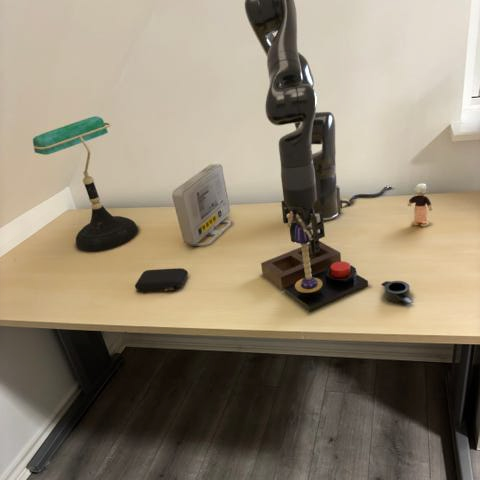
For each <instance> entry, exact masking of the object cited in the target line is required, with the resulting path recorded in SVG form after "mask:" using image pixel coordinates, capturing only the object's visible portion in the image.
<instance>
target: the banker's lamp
mask: <svg viewBox="0 0 480 480" xmlns="http://www.w3.org/2000/svg"><path fill="white" fill-rule="evenodd" d="M111 126H112V124H111V123H110V122H104V119H103V118H102V117H100V116H98V115H95V116H91V117H87V118H84V119H81V120H78V121H76V122H72V123H70V124H67V125H64V126H61V127H57V128H55V129H52V130H49V131H46V132H43V133H40V134H38V135H36V136H34V137H33V138H32V144H33V150H34V154H35V153H36V154H39V155H43V156H47V155H52V154H55V153H57V152H60V151H63V150H66V149H68V148H71V147H74V146H76V145H80V144H83V146H84V147H85V148H86V151H87V158H86V163H85V167H84V171H83V175H84V176H83V179H82V183H83V185H84V187H85V190H86V193H87V196H88V200H89V202H90V203H91V217H90V222H89V223H87V224H86V225H84V226H83V227H82V228H81V229H80V230H79V231H78V233H77V234H76V237H75V245H76V247H77V249H78V250H80V251H83V252H89V253H91V252H92V253H94V252H103V251H108V250H112V249H114V248H117V247H120V246H122V245H124V244H126V243H128V242H130V241H131V240H132V239H133V238H134V237H135V236H137V234H138V232H139V228H138V225H137V223H136V222H135V221H134V220H133V219H131V218H129V217H126V216H121V215H112V214H111V213H110V212H109V211H108V210H107V209H106V208H105V207H104V205H103V203H102V202H100V200H101V199H100V196H99V193H98V190H97V188H96V184H95V181H94V178H93V177H92V176H90V175H89V172H88V169H89V164H90V159H91V150H90V148H89V146H88V145H87V143H86V142H88V141H90V140H93V139H95V138H98V137H101V136H104V135H106V134H108V131H109V130H108V128H110V127H111Z"/></svg>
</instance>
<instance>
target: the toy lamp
mask: <svg viewBox="0 0 480 480" xmlns="http://www.w3.org/2000/svg"><path fill="white" fill-rule="evenodd" d="M309 226H310V224H309V225H307V227H309ZM310 231H311V233H312V234H313V232H312V230H310ZM294 241H295V242H294V243H296V244H298V245H299V244H300V247H301V250H302V256H303V262H304V268H305V269H304V271H305V277H306V278H304V279H303V280H302V282H301V287H302V288H304V289H312V288H314V287H316V286H317V285H318V282H317V280H316V279H315V278H313V277H312V274H311V268H310V267H311V264H310V258H309V252H308V246H307V245H308V244H309V237H308V235H307V233H306V232H304V231H303V228H302V226H301V225H300V224H297V225H296V228H295V236H294Z"/></svg>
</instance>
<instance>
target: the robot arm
mask: <svg viewBox="0 0 480 480" xmlns="http://www.w3.org/2000/svg"><path fill="white" fill-rule="evenodd" d="M295 3H296V2H295V0H244V12H245V16H246V18H247V21H248V24H249V26H250V28H251V29H252V32H253V34H254V36H255V37H256V40H257V41H258V43H259V45H260V46H261V47H260V48H261V49H262V50H263V53H264V54H265V56H266V67H267V68H266V69H267V74H268V80H269V82H268V83H269V86H268V89H267V94H266V98H265V103H264V108H265V116H266V118H267V120H268V121H269V122H270V123H271V124H272V125H274V126H278V127H279V126H285V125H291V124H294V127H295V129H294V131H291V132H288V133H287V134H285V135H283V136H281V137H280V138H279V139H278V154H279V161H280V179H281V180H280V181H281V187H282V198H283V200H281V214H282V222H283V224H286V226H287V228H288V229H289V236H290V242H292V243H296V242H295V241H294V236H295V228H296V225H297V224H300V225H301V226H302V228H303V231H304V232H306V233H307V235H308V237H309V243H308V244H310V253H312V254H315V253H317V252H319V250H320V246H319V241H320V240H321V239H323V238H325V237H326V232H325V223H324V222H327V221H331V220H334V219H336V218H337V217H338V216H339V215H341V213H342V211H341V210H342V209H343V204H346V205H348V206H350V205H352V204H353V203H354V199H357V198H361V197H362V198H363V197H364V198H374V197H379V196H380V195H382V194H383V193H384V192H385V191H386V190H387V189H389V190H392V189H393V187H392V186H391V187H389V188H387V187H385V186H384V187H383V188H382V190H380V191H379V192H377V193H357V194H356V195H353V196H352V197H351V198H350V201H348V200H345V199H344V200H343V199H341V192H340V191H341V189H340V186H339V185H338V184H337V183H338V182H337V167H336V155H337V154H336V153H337V151H336V149H337V148H336V119H335V116H334V114H333V113H332V112H331V111H318V112H317V104H318V98H317V93H316V91H315V89H314V86H315V79H314V75H313V73H312V70H311V67H310V64H309V62H308V60H307V59H306V57H305V56H304V55H303V54H301V53H300V52H299V51H298V16H297V7H296V4H295ZM274 33H276V34H274ZM312 145H313V146H314V145H317V146H318V145H321V149H320V150H319V151H316V152H314V153H313V148H312V147H313V146H312ZM288 215H289V216H288ZM307 225H309V227H307ZM310 230H311V231H312V233H311V231H310Z"/></svg>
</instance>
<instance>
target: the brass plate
mask: <svg viewBox="0 0 480 480" xmlns="http://www.w3.org/2000/svg"><path fill="white" fill-rule="evenodd" d="M313 278H314V277H313ZM303 279H304V278H303ZM303 279H301V280H299V281H297V282H296V284H295V288H296V290H298V291H299V292H303V293H310V292H315V291H317V290H319V289H320V288H321V287H322V285H323V283H322V281H321V280H320V279H318V278H315V279H316V280H317V282H318V285H317V286H316V287H314V288H312V289H304V288H302V287H301V282H302V280H303Z"/></svg>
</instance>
